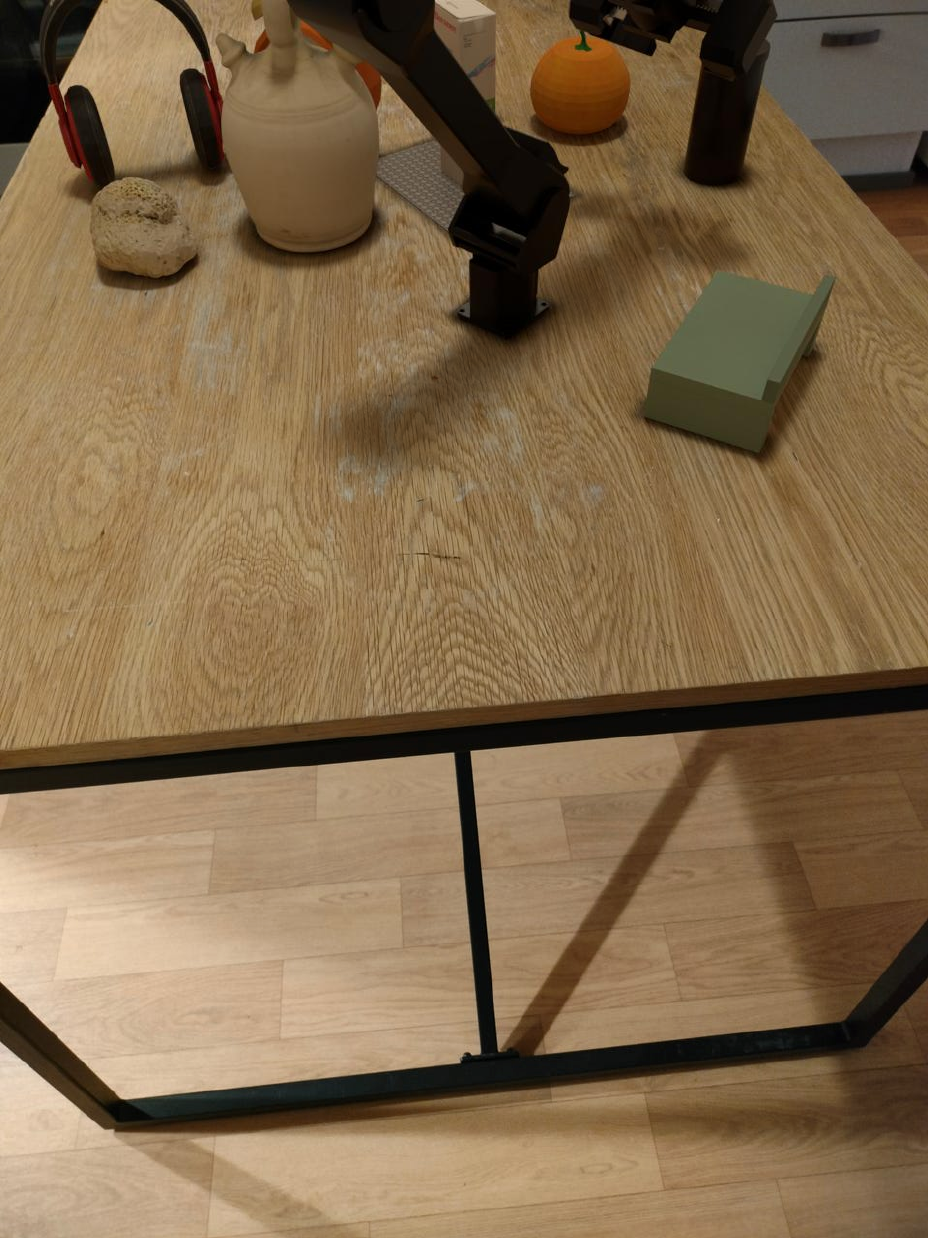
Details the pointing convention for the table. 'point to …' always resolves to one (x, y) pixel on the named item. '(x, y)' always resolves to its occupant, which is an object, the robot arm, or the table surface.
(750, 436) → the olive lipped block
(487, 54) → the ink box
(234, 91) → the jug
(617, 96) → the fruit
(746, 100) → the canister
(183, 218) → the decorative item
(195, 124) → the headphones
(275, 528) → the table surface
